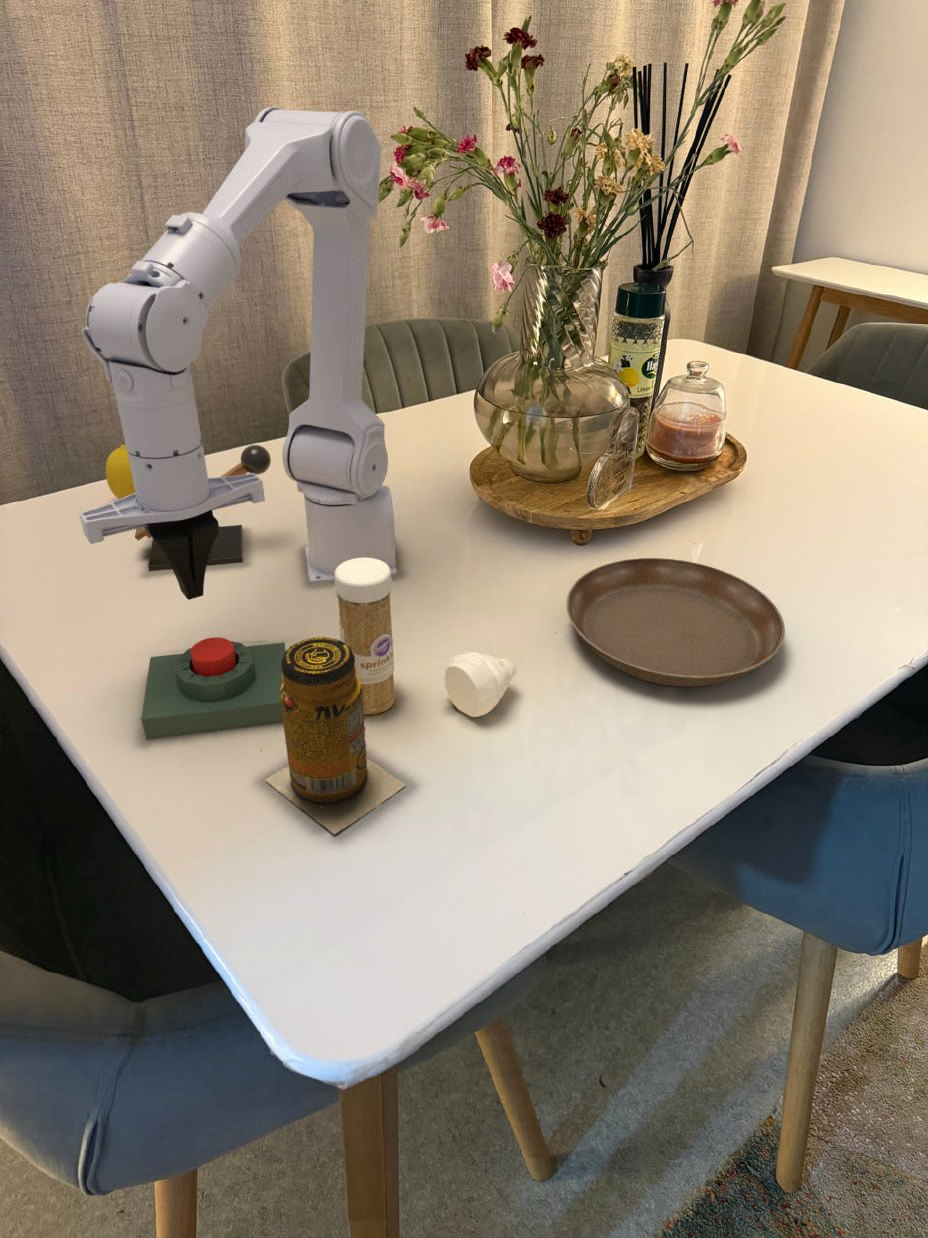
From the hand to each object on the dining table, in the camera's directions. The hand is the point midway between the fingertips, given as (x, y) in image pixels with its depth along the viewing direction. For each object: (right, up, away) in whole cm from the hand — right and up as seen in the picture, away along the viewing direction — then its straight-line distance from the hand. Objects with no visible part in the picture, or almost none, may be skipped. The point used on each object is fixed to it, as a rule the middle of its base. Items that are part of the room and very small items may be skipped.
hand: (192, 592), depth 77 cm
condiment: (+14, -15, -7) cm, 22 cm away
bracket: (-7, +5, +24) cm, 26 cm away
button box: (+2, -9, +2) cm, 10 cm away
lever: (-4, +10, +22) cm, 24 cm away
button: (+2, -6, 0) cm, 7 cm away
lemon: (-17, +12, +34) cm, 40 cm away
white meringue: (+26, -10, +2) cm, 27 cm away
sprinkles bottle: (+15, -10, +2) cm, 18 cm away
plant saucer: (+44, -4, +10) cm, 45 cm away
